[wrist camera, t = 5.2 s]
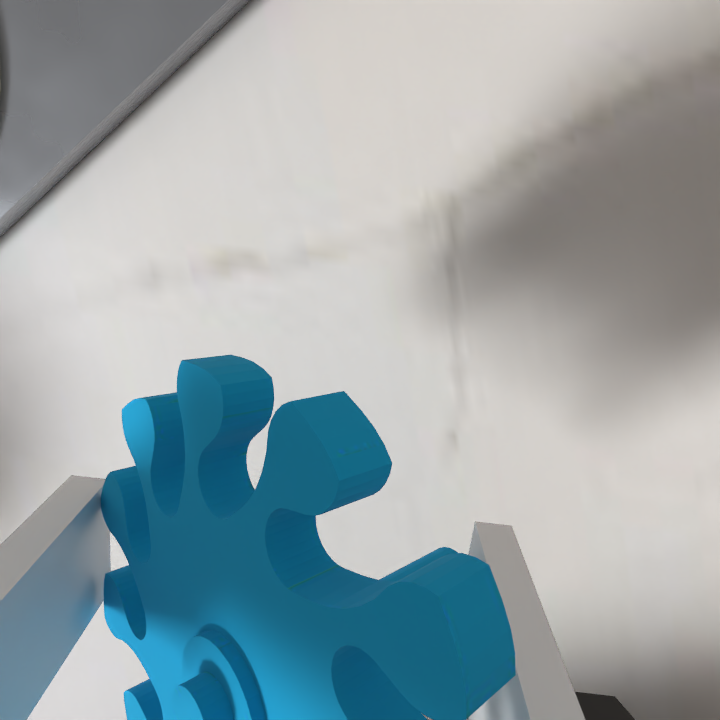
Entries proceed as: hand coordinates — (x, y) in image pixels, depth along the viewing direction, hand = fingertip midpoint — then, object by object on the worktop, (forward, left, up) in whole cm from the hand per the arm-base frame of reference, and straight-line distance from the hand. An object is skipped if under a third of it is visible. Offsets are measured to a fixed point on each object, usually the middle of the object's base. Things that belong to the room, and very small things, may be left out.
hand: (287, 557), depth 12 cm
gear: (0, 0, 0) cm, 0 cm away
